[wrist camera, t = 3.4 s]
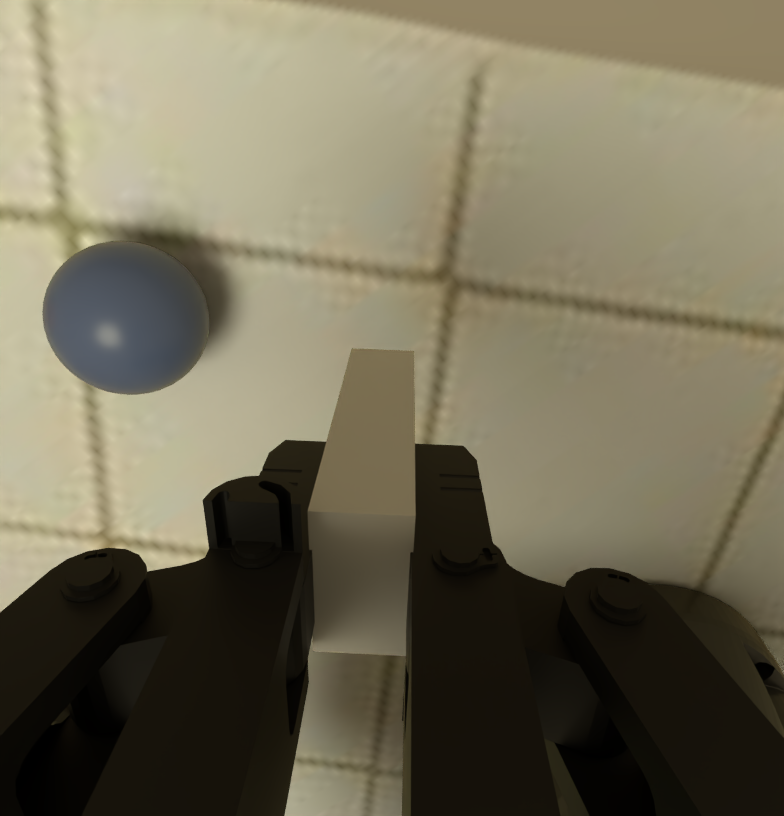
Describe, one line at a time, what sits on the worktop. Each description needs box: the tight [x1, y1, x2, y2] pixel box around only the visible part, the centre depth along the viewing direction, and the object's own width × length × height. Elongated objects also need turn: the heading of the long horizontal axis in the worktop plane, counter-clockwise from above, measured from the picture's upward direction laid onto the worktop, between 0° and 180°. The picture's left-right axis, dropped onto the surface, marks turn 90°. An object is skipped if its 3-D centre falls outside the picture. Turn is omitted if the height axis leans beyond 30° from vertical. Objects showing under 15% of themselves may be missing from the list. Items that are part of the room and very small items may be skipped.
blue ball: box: [43, 241, 210, 395], centre depth 21 cm, size 6×6×6 cm
